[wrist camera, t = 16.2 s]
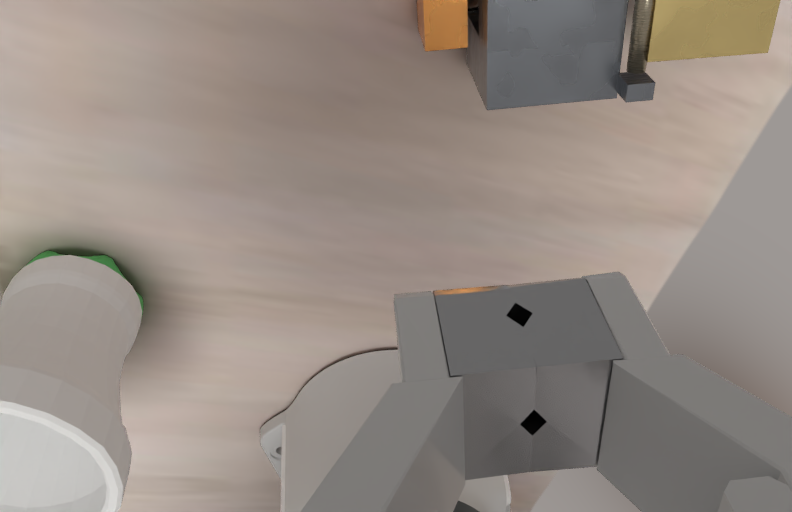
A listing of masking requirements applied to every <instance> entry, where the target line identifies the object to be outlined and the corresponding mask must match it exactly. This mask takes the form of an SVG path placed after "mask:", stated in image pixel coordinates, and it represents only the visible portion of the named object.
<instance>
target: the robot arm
mask: <svg viewBox="0 0 792 512" xmlns="http://www.w3.org/2000/svg"><path fill="white" fill-rule="evenodd" d="M394 311H395V322H396V333H397V345H398V350H384V351H375V352H369V353H364V354H360V355H356V356H353V357H350V358H347V359H344V360H342V361H340V362H337V363H335V364H333V365H331V366H330V367H328V368H326V369H324V370H323V371H321V372H320V373H319V374H317V375H316V376H315V377H313V378H312V379H311V380H310V381H309V382H308V383H307V384H306V385H305V386H304V387H303V389H302V390H301V391H300V393H299V394H298V396H297V397H296V399H295V400H294V402H293V403H292V404H291V405H290V407H289V408H288V409H287V410H285V411H284V412H282V413H280V414H279V415H277V416H275V417H274V418H272V419H271V420H269V421H268V422H266V423H265V424H264V425H263V426H262V427H261V429H260V444H261V447H262V448H263V450H264V452H265V453H266V455H267V457H268V459H269V460H270V462H271V464H272V465H273V467H274V469H275V471H276V472H277V474H278V476H279V477H280V479H281V512H510V503H511V491H510V485H509V480H508V475H509V474H517V473H524V472H534V471H546V470H559V469H571V468H584V467H597V470H598V471H599V472H600V473H601V474H602V475H603V476H604V477H606V479H607V480H609V481H610V482H611V483H612V484H613V485H614V486H615V487H616V488H617V489H618V490H619V491H620V492H621V493H623V495H625V496H626V497H627V498H628V499H629V500H630V501H631V502H632V503H633V504H634V505H635V506H636V507H637V508H638V509H639V510H640V511H642V512H792V417H791V416H789V415H787V414H786V413H784V412H782V411H781V410H779V409H777V408H775V407H774V406H772V405H770V404H768V403H767V402H765V401H763V400H761V399H760V398H758V397H756V396H754V395H753V394H751V393H749V392H747V391H746V390H744V389H742V388H741V387H739V386H737V385H735V384H734V383H732V382H730V381H728V380H727V379H725V378H723V377H721V376H720V375H718V374H716V373H714V372H713V371H711V370H709V369H707V368H706V367H704V366H702V365H700V364H699V363H697V362H695V361H693V360H692V359H690V358H688V357H687V356H685V355H683V354H677V355H670V353H669V351H668V350H667V348H666V346H665V344H664V343H663V341H662V339H661V337H660V336H659V334H658V332H657V330H656V329H655V327H654V325H653V323H652V322H651V320H650V318H649V316H648V315H647V313H646V311H645V309H644V308H643V306H642V304H641V302H640V301H639V299H638V297H637V295H636V294H635V292H634V290H633V288H632V287H631V285H630V283H629V281H628V280H627V278H626V276H625V275H623V274H622V273H620V272H614V273H606V274H598V275H590V276H582V277H581V278H573V279H564V280H554V281H545V282H535V283H525V284H516V285H501V286H488V287H475V288H462V289H449V290H436V291H433V294H432V292H431V291H428V292H417V293H405V294H394Z"/></svg>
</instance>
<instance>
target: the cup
mask: <svg viewBox="0 0 792 512" xmlns="http://www.w3.org/2000/svg"><path fill="white" fill-rule="evenodd" d="M142 315H143V298H142V296H140V295H139V294H138V293H137V292H136V291H135V290H134V288H133V286H132V285H131V284H130V283H129V282H128V281H127V280H126V279H125V277H124V276H123V274H122V273H121V272H120V271H119V268H118V267H117V266H116V264H115V263H114V261H113V259H112V258H110V257H108V256H106V255H99V256H92V257H89V256H73V255H61V254H58V253H56V252H52V251H46V252H43V253H41V254H39V255H38V256H36V257H35V258H34V259H32V260H31V261H30V262H29V263H28V264H27V265H26V266H25V267H23V268H22V269H21V270H20V271H19V272H18V273H17V274H16V275H15V276H14V277H13V278H12V280H11V282H10V283H9V285H8V287H7V288H6V290H5V292H4V294H3V297H2V301H1V304H0V512H118V511H119V509H120V507H121V503H122V499H123V495H124V491H125V487H126V483H127V479H128V475H129V470H130V463H131V455H132V451H131V446H130V442H129V439H128V435H127V432H126V428H125V427H124V425H123V423H122V417H121V405H120V377H121V372H122V368H123V364H124V360H125V356H126V355H127V354H128V353H129V352H130V350H131V348H132V346H133V344H134V342H135V340H136V337H137V334H138V331H139V328H140V324H141V319H142Z"/></svg>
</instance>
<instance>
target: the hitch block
mask: <svg viewBox="0 0 792 512" xmlns="http://www.w3.org/2000/svg"><path fill="white" fill-rule="evenodd" d="M627 6H628V0H479V10H475V11H468V47H467V48H466V63H467V66H468V68H469V70H470V73H471V75H472V77H473V80H474V82H475V84H476V86H477V89H478V91H479V93H480V96H481V98H482V100H483V103H484V105H485V107H486V109H487V110H494V109H504V108H515V107H526V106H537V105H547V104H558V103H569V102H580V101H590V100H601V99H612V98H617V93H618V94H619V95H620V96H621V97H622V99H623V100H624V101H625V102H635V101H645V100H653V94H654V87H655V82H654V81H653V80H652V79H651V78H650V77H649V76H648V75H647V74H646V73H645V72H644V73H641V74H633V73H629V72H624V73H620V65H621V57H622V48H623V40H624V31H625V23H626V14H627Z"/></svg>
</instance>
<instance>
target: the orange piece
mask: <svg viewBox="0 0 792 512" xmlns="http://www.w3.org/2000/svg"><path fill="white" fill-rule="evenodd" d="M475 7H479V0H417V17H418V30H419V33H420V36H421V39H422V42H423V45H424V49H425V51H434V50H445V49H456V48H467V47H468V8H475Z"/></svg>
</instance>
